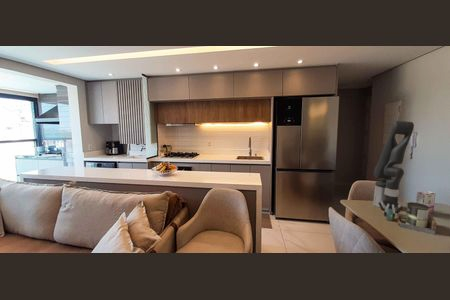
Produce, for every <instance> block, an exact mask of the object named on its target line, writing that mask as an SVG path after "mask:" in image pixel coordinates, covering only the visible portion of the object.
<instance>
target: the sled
mask: <svg viewBox="0 0 450 300" xmlns="http://www.w3.org/2000/svg"><path fill="white" fill-rule="evenodd" d="M392 216H393V210H392V209H391V208H388V209H387V217H385V219H386V220H387V221H396V222H397V224H398V226H400V223H403V224H406V222H405V223H404V222H401V220H400V219H404V220H406V216H402V215H397V213H395V217H394V218H392ZM408 225H409V224H408ZM412 226H414V225H412ZM417 227H419V226H417ZM427 227H428V228H426V229H431V230H435V231H436V230H437V221H436V220H435V219H434V217H433V216H432V214H430V213H428V219H427ZM422 228H423V227H422Z"/></svg>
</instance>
